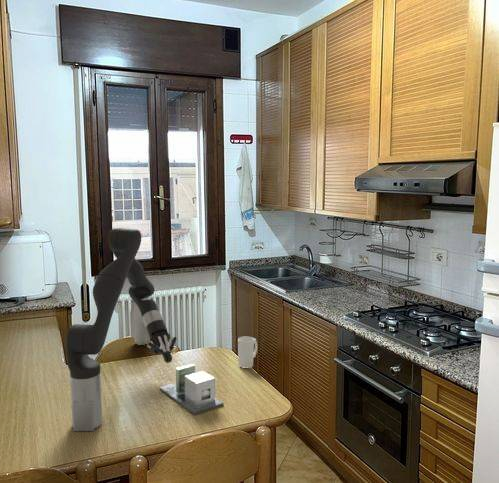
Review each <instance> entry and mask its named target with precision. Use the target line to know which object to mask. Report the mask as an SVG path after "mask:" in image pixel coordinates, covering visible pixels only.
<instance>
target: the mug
mask: <svg viewBox="0 0 499 483" xmlns="http://www.w3.org/2000/svg"><path fill="white" fill-rule="evenodd" d="M237 351H238V352H237V354H238V355H237V356H238V357H237V358H238V367H239V366H240V367H248V368H249V369H252V368H253V367H254V358H256V356H257V353H258V352H257V351H258V341H257V339H256V338H254V337H251V336H240V337H238V339H237ZM240 367H239V368H240Z"/></svg>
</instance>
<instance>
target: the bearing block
mask: <svg viewBox="0 0 499 483" xmlns="http://www.w3.org/2000/svg"><path fill="white" fill-rule="evenodd" d="M206 389H207V390H208V391H209V392H210V395H209V397H208V398H206V399H204V398H203V397H202V391H203V390H206ZM159 390H160V391H161V392H163V393H164V394H165V395H166V396H167V397H168V398H171V399H172V400H173V401H174V402H176V403H177V404H178V405H180V406H181V407H183V408H184V409H186V411H188V412H189V413H190V414H192V415H193V416H196V415H199V414H203V413H205V412H208V411H211V410H214V409H216V408H220V407H222V406H224V405H225V404H224V401H222V400H220V399H219V398H217V397H216V377H214V376H213V375H212V374H209V373H207V372H205V371H204V370H201V371H197V372H195V373H193V374H190V375H186V376H185V392H182V393H177V392H176V382H173V383H170V384H166V385H162V386H159Z"/></svg>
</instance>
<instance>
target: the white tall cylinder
mask: <svg viewBox="0 0 499 483" xmlns="http://www.w3.org/2000/svg"><path fill="white" fill-rule="evenodd" d="M141 300H150V297H147V298H145V299H141ZM129 316H130V318H129V319H130V320H129V321H130V322H129V323H130V337H133V338H135V339H134V341H135V343H137V344H138V345H144V344H147V343H148V342H150V340H149V339H150V337H149V335H148V332H147V329H146V327H145V324H144V321H143V317H142V315H141V312H140V310H139V308H138V306H137V305H136V303H135V302H134V301H133V300H132V304H131V309H130V313H129ZM146 338H147V339H146ZM147 345H148V344H147ZM144 346H145V345H144Z"/></svg>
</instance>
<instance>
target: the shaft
mask: <svg viewBox="0 0 499 483" xmlns="http://www.w3.org/2000/svg"><path fill="white" fill-rule="evenodd" d="M193 373H196V365H195V364H193V363H190V364H186V365H183V366H180V367H179V366H178V367H176V368H175V383H176V392H177V393H182V392H185V376H186V375H190V374H193ZM209 395H210V392H209V391H208V390H207V389H206V390H203V391H202V397H203V398H204V399H206V398H208V397H209Z"/></svg>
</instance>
